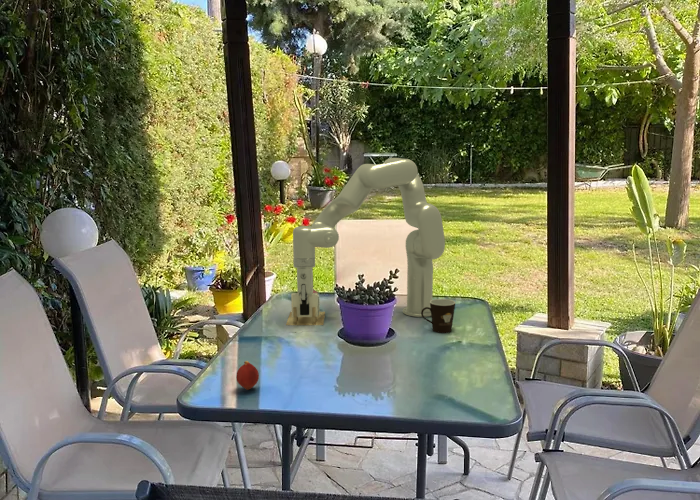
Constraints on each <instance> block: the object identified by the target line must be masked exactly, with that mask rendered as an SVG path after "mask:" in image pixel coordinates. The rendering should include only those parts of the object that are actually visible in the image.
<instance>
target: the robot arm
mask: <svg viewBox="0 0 700 500" xmlns="http://www.w3.org/2000/svg"><path fill="white" fill-rule="evenodd" d="M393 187H398V189H399V191H400V194H401V195H400V196H401V201H402V206H403V214H404V219H405V222H406V223H407V224H408V225H409V227H412V228H417V229H414V230H412V231H410V232H409V233H408V235H407V236H406V239H405V252H406V259H407V260H406V261H407V270H406V271H407V272H406V273H407V278H406V279H407V281H406V285H407V286H406V306H405V307H404V308H403V309H402V313H403V314H404V315H406V316H410V317H414V318H415V317H416V318H417V317H418V318H423V317H422V315H421V311H422V309H423V308H425V307H429V308H431V307H430V301H431V300H433V290H434V289H433V287H434V286H433V282H434V281H433V278H434V263H433V260H437V259H439V258H440V257H442V255H443V254H444V251H445V250H446V249H445V248H446V241H445V240H446V239H445V232H444V226H443V225H444V224H443V218H442V215H441V212H440V210H439V209H438V207H437V206H435V205H434V204H432V203H428V202H427V198H426V191H425V188H424V184H423V181H422V179H421V177H420V175H419V174H418V166H417V165H416V163H415V162H414V161H413V160H411V159H408V158H400V157H390V158H387V159H386V160H385V161H384V162H383V163H379V164H375V163H363V164H361V165H360V166H359V167H358V168H357V169H356V170H355V172H353V174H352V175H351V177H350V179H349V180H348V181H347V183H346V184H345V186H344V187H343V188H342V190H341V191H340V192H339V194H338V195H337V196H336V197H335V198H334V199H332V200H331V202H330V203H328V204H327V206H326V207H324V209H322V210H321V211H320V213H319V214H318V215H317V217H316V218H315V219H314V221H313V222H312V224H311V225H310V226H308V225H307V226H306V225H304V226H302V225H301V226H296V227H294V228H293V231H292V247H293V249H292V251H293V254H292V255H293V258H292V259H293V268H295V269H296V282H297V283H296V285H297V292H298V295H299V296H300V315H309V304H308V295H310V296H312V294H313V289H314V272H313V268H315V267H316V248H325V249H326V248H328V249H329V248H333V247H335V246H336V245H337V244H338V242H339V239H340V236H339V232H338V230H337V229H335V228H336V225H338V223H339V222H341V220H342V219H344V218H345V217H347V216H349V215H351V214H354V213H355V212H357V211H358V210H359V209H360V208H361V206H362V205H363V203H364V202H365V200H366V199H367V198H368V196H369V195H370V194H371V192H372V190H383V189H389V188H390V189H391V188H393ZM305 294H307V295H305ZM306 297H307V298H306ZM423 316H424V317H425V318H427V317H431V311H430V310H429V309H425V310H424V311H423Z"/></svg>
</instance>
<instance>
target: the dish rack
mask: <svg viewBox="0 0 700 500" xmlns="http://www.w3.org/2000/svg"><path fill="white" fill-rule="evenodd" d="M325 317H326V311H320V314H319V315H318V317H316V307H312V317H297V307H293V317H292V311H290V312H289V315H288V318H287V321H286V324H285V326H324V322H325Z"/></svg>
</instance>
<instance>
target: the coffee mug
mask: <svg viewBox="0 0 700 500" xmlns="http://www.w3.org/2000/svg"><path fill="white" fill-rule="evenodd" d="M430 307H431V308H429V307H425V308H423V309H422V311H421V315H422V317H421V318H423V319H424V320H425V321H427V322H429V323H430V324H431V325H432V332H434V333H437V334H448V333H451V332H452V329H453V322H454V315H455V308H456V301H454V300H452V299H448V298H447V299H446V298H445V299H444V298H437V299H432V300H431V301H430ZM425 309H429V310H430V311H431V316H430V317H431V320H429V319H428V318H427V317H424V316H423V311H424V310H425Z"/></svg>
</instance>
